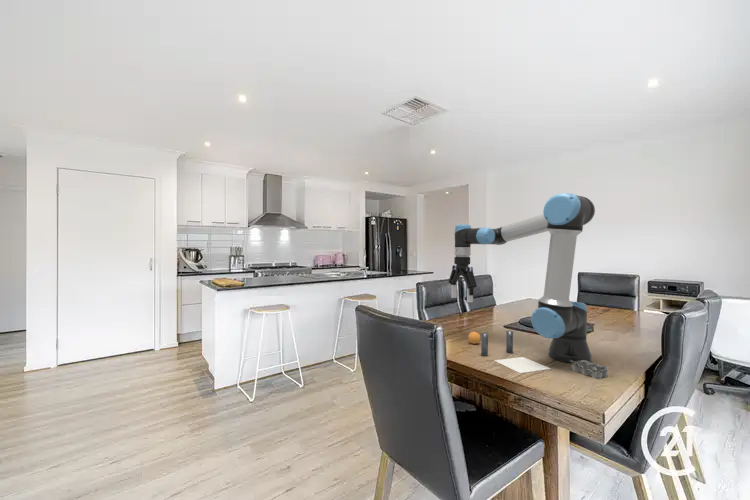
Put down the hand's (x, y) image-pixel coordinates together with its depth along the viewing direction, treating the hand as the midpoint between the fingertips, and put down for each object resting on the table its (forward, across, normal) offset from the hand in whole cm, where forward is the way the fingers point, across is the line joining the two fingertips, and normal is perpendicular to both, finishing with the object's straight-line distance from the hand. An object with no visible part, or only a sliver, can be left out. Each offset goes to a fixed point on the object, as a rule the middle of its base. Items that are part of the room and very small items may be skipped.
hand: (461, 299), depth 165 cm
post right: (+19, +25, +7) cm, 32 cm away
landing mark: (+19, +39, +1) cm, 43 cm away
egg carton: (+19, +53, +18) cm, 59 cm away
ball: (+16, +9, +1) cm, 19 cm away
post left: (+19, +25, -5) cm, 32 cm away
